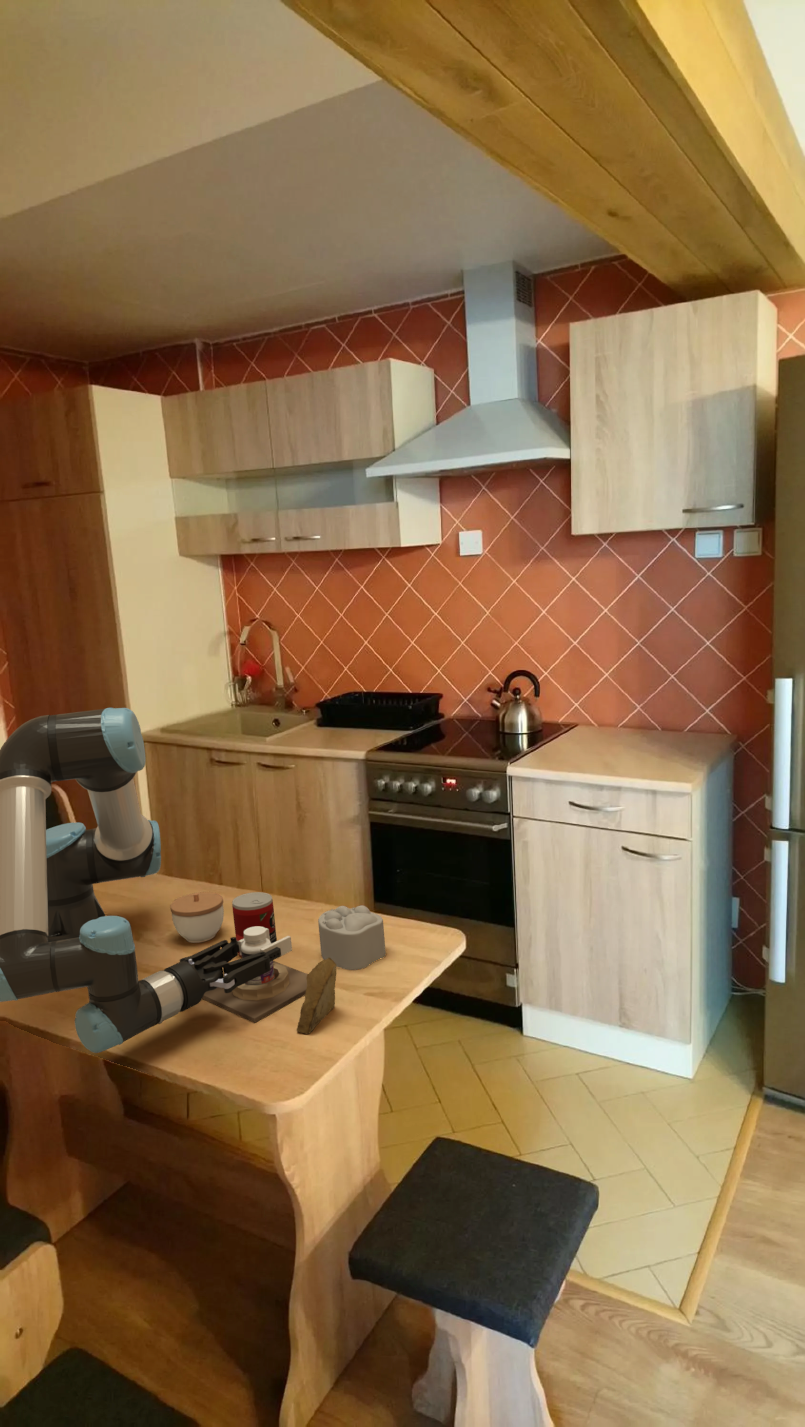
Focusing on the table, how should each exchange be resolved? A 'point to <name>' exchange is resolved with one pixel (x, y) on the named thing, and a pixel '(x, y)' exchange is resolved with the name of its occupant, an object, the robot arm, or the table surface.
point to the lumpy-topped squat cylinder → (351, 937)
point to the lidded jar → (198, 915)
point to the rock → (318, 995)
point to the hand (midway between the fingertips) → (278, 939)
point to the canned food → (254, 914)
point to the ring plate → (260, 1005)
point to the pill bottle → (257, 951)
